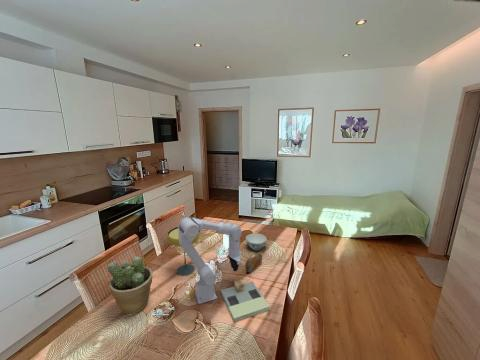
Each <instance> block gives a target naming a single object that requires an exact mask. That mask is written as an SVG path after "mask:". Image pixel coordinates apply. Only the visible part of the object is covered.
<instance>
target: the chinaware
mask: <svg viewBox="0 0 480 360" xmlns="http://www.w3.org/2000/svg"><path fill="white" fill-rule="evenodd" d="M267 240H268V239H267V236H265V235H264V234H262V233H250V234H248V235H246V237H245V242H246V244H247V246H248V247H250V249H251V250H253V251H260V250H261V249H262V248H263V247H265V245H266V243H267Z"/></svg>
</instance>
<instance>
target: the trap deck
mask: <svg viewBox="0 0 480 360" xmlns="http://www.w3.org/2000/svg"><path fill="white" fill-rule="evenodd" d="M220 294H221V297H222V299H223V301H224V303H225V306H226V307H227V309H228V312H229V314H230V317H231V318H232V321H233V323H236V322H239V321H242V320H244V319H248V318H251V317H254V316H257V315H260V314H262V313H265V312H268V311H270V310H271V306H270V304H269V303H268V301H267V300H266V298H264V296H263V294H262V293H261V292H260V289H258V287H257V286H256V284H255V283H254V281H253V280H252V281H249V282H244V291H242V292H238V293H237V292H236V290H235V288H234V286H232V287H231V286H230V287H227V288H224V289H220Z"/></svg>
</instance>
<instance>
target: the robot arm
mask: <svg viewBox="0 0 480 360" xmlns="http://www.w3.org/2000/svg"><path fill="white" fill-rule="evenodd" d="M177 227H178V230H179V244H180V245H181V246H180V247H181V248H182V250H183V252H184V251H185V255H187V257H188V258H189V260H190V261H191V262H192V265H193V266H194V267H195V269H196V270H197V274H198V276H199V280H198V281H196V282H195V283H194V289H195V292H194V293H195V298H196V301H197V304H199V305H200V304H203V303H207V302H211V301H213V300H217V298H218V297H217V295H216V292H215V282H216V280H217V274H216V273H214V271H213V270H212V268H211V267H209V265H208V264H206V262H205V261H204V260H203V258H202V257H201V255H200V253H199V252H198V250H197V248H195V246H194V245H193V244H194V243H193V244H192V241H193V240H194V238H195V237H196V236H197V234H198V232H199V234H201V233H202V232H203V230H209V231H211V230H212V231H216V233H217V234H219V235H220V234H221V235H226V236H228V247H227V248H228V249H227V250H228V251H227V252H228V254H227V257H228V260H229V262H230V267H231V269H232V270H233V272H238V269H239V267H240V265H241V264H242V259H241V255H242V254H243V252H242V251H241V250H240V248H241V247H240V246H241V236H242V234H243V230H242V228H241V227H240V226H238V225H237V224H235V223H234V222H230V223H228V222H226V221H225V220H223V221H219V222H211V221H208V220H203V219H201V218H197V217H189V216H186V217H183V218H182V219H180V221H179V223H178V226H177Z"/></svg>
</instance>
